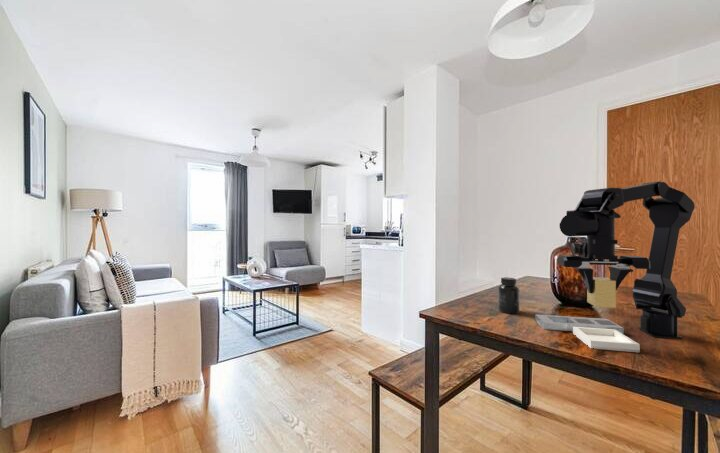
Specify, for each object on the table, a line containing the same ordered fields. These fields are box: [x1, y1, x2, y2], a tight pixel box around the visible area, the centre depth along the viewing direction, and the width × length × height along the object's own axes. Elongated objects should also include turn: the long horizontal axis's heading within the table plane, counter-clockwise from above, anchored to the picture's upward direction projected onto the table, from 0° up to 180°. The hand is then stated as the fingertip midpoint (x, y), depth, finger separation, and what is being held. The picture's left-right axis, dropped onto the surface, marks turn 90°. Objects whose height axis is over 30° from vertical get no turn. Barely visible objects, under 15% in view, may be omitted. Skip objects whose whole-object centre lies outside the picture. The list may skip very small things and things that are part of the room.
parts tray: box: [572, 327, 641, 354], centre depth 77 cm, size 10×10×2 cm
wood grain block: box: [586, 276, 617, 309], centre depth 77 cm, size 4×4×7 cm
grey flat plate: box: [534, 314, 625, 335], centre depth 88 cm, size 20×8×2 cm, turn 75°
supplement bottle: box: [497, 276, 520, 314], centre depth 105 cm, size 7×7×12 cm
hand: (601, 293), depth 77 cm, fingers closed on wood grain block, 4 cm apart
